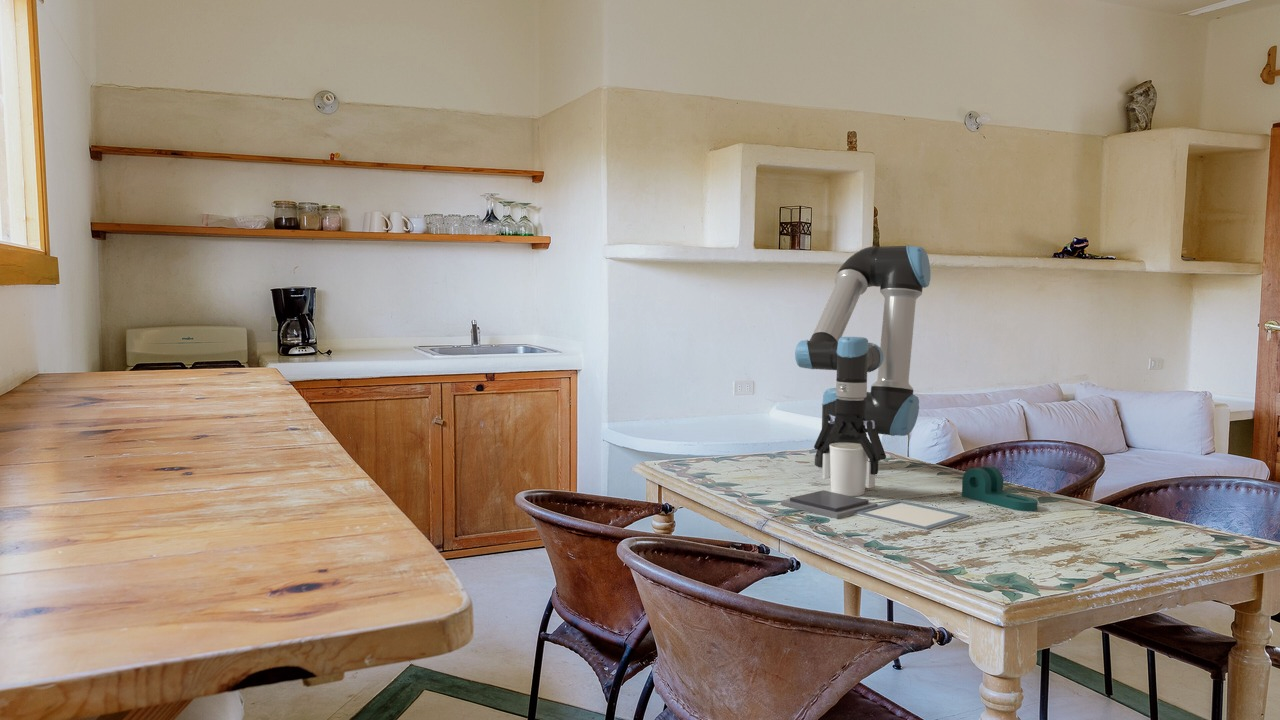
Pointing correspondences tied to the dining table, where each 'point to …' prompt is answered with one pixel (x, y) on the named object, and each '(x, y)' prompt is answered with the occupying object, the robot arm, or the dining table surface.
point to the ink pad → (828, 504)
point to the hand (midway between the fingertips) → (847, 482)
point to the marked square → (913, 515)
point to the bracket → (993, 490)
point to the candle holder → (848, 468)
